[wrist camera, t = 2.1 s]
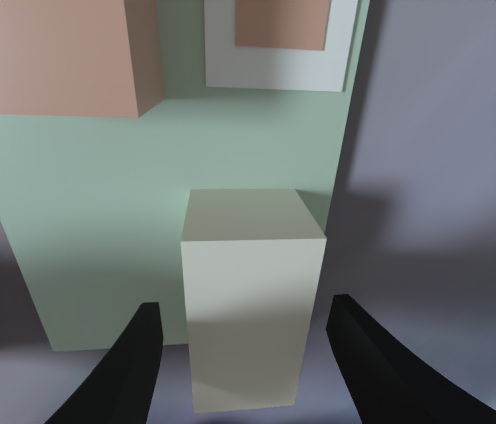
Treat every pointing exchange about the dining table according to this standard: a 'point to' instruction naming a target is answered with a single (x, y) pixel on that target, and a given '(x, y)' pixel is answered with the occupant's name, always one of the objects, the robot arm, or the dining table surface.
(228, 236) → the cream brick
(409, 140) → the dining table surface
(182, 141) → the baseplate
